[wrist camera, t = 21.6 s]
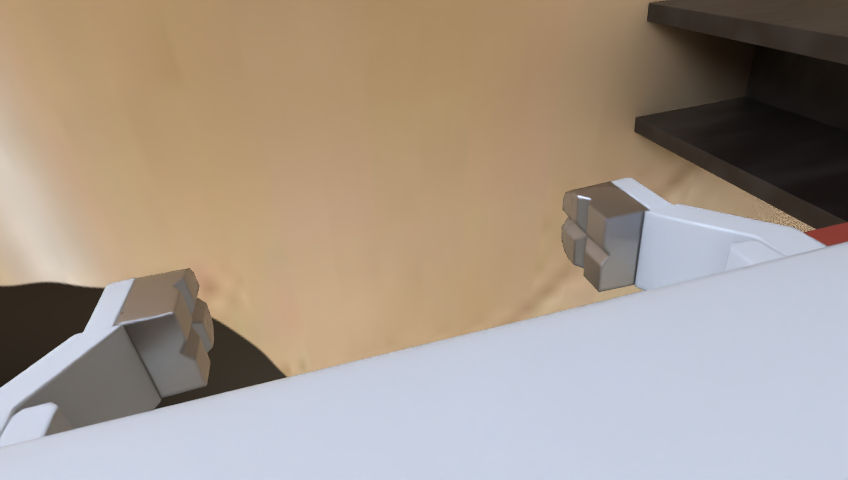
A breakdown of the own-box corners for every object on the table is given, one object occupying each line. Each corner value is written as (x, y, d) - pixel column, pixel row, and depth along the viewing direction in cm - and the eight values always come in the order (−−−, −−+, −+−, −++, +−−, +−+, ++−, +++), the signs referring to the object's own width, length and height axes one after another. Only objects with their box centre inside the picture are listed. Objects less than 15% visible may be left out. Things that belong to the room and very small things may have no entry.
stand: (648, 3, 47) (983, 60, 25) (783, -18, 49) (1201, 19, 27) (633, 131, 53) (890, 269, 31) (754, 108, 55) (1073, 222, 33)
